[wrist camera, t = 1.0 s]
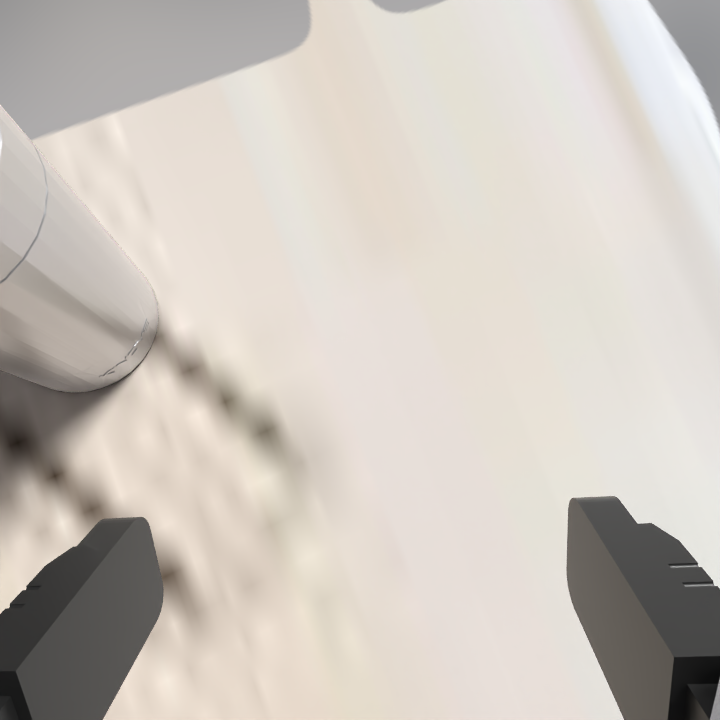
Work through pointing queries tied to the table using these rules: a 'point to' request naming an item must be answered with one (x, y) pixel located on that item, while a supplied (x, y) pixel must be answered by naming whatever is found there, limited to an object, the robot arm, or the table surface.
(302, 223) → the table surface
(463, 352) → the table surface
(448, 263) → the table surface
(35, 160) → the robot arm
